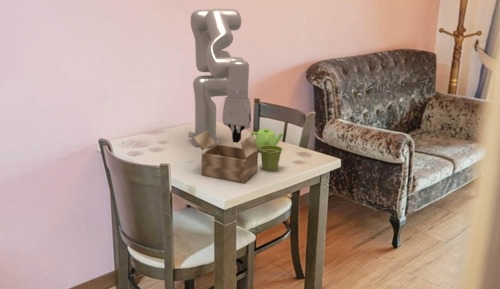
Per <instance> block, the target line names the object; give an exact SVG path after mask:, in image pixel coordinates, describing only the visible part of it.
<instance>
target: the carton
mask: <svg viewBox="0 0 500 289" xmlns="http://www.w3.org/2000/svg"><path fill="white" fill-rule="evenodd" d="M258 161H259V152H258V150H256V151H255V152H253V153H252V154H251V155H250V156H248V157H247V158H246V157H245V154H244V152H243V149H242V147H238V146H231V145H224V144H220V143H219V144H216V145H214V146H213V147H209V148H207V149H206V150H205V151H203V152H202V153H201V176H202V177H208V178H213V179H218V180H223V181H229V182H235V183H240V184H244V185H245V184H246V183H247V182H248V181H249V180H250V179H251V178H253V177H254V176H255V175H256V174H257V173H258V166H259V165H258V163H259V162H258Z"/></svg>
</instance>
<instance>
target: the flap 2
mask: <svg viewBox="0 0 500 289" xmlns="http://www.w3.org/2000/svg"><path fill="white" fill-rule="evenodd" d="M254 139H255V138H254V136H253V135H251V134H250V136H248V137H246V138H245V139H243V141H240V146H241V148H242V149H243V152H244V154H245V157H246V158H247V157H248V156H250V155H251V154H252V153H253V152H255V151H258V149H257V146H256V143H255V140H254Z"/></svg>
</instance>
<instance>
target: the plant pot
mask: <svg viewBox="0 0 500 289" xmlns="http://www.w3.org/2000/svg"><path fill="white" fill-rule="evenodd" d="M259 150H260V152H259V153H260V156H261V167H262V169H263V170H265V171H266V172H267V171H268V172H274V171H276V170H278V168H279V164H280V163H279V162H280V158H281V154H282V152H283V147H282V146H278V145H276V146H275V145H264V146H260V147H259Z"/></svg>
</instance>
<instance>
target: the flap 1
mask: <svg viewBox="0 0 500 289" xmlns="http://www.w3.org/2000/svg"><path fill="white" fill-rule="evenodd" d="M194 140H195V141H196V142H197V144H198V145H199V148H200V149H201V151H204V150H205V149H206V150H207V149H208V148H210V147H209V146H211V145H212V144H214V143H215V141H214V140H213V138H212V137H211V135H210V134H209V132H208V131H207V130H206V131H205V132H203V133H201V134H199V135H197V136H195V137H194Z"/></svg>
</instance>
